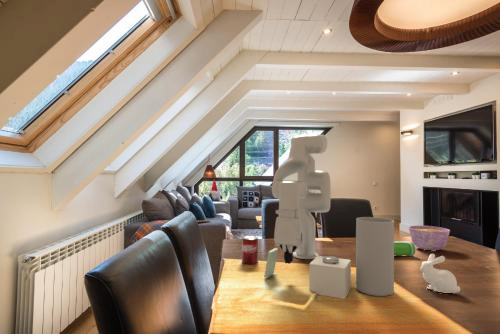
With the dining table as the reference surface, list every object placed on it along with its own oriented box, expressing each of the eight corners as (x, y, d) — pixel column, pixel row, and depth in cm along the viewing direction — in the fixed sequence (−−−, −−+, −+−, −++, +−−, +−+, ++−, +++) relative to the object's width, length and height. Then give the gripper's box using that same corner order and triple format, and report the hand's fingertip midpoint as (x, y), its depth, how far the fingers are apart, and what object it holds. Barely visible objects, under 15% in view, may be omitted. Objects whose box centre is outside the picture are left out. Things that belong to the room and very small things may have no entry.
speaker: (408, 254, 166) (408, 239, 166) (416, 258, 159) (416, 243, 159) (374, 254, 166) (374, 239, 166) (380, 258, 158) (380, 242, 159)
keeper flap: (271, 272, 129) (275, 247, 128) (273, 273, 128) (278, 248, 128) (264, 277, 122) (268, 251, 122) (266, 278, 122) (271, 252, 121)
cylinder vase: (390, 300, 105) (390, 223, 106) (352, 292, 112) (352, 220, 112) (396, 288, 116) (396, 219, 116) (360, 282, 123) (360, 216, 123)
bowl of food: (450, 248, 180) (450, 227, 180) (449, 256, 163) (449, 233, 163) (410, 244, 190) (410, 224, 191) (406, 250, 174) (406, 229, 174)
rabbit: (418, 288, 116) (418, 255, 116) (427, 282, 122) (427, 251, 123) (457, 298, 107) (457, 262, 107) (464, 291, 114) (464, 257, 114)
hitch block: (317, 282, 122) (318, 255, 122) (350, 287, 117) (350, 259, 117) (309, 292, 111) (309, 263, 111) (344, 299, 106) (345, 268, 106)
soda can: (256, 267, 140) (256, 239, 140) (240, 266, 142) (240, 239, 142) (259, 263, 147) (259, 236, 147) (243, 261, 149) (244, 235, 149)
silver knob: (324, 283, 118) (324, 255, 118) (339, 286, 115) (340, 257, 115) (320, 288, 113) (320, 259, 113) (336, 291, 110) (337, 261, 110)
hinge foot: (272, 276, 128) (272, 273, 128) (277, 277, 127) (277, 274, 127) (266, 281, 122) (266, 279, 122) (270, 282, 121) (270, 279, 121)
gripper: (266, 213, 122) (266, 262, 122) (305, 216, 116) (304, 267, 115) (274, 211, 129) (273, 257, 128) (310, 214, 122) (310, 262, 122)
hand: (288, 262), depth 122 cm, fingers closed
